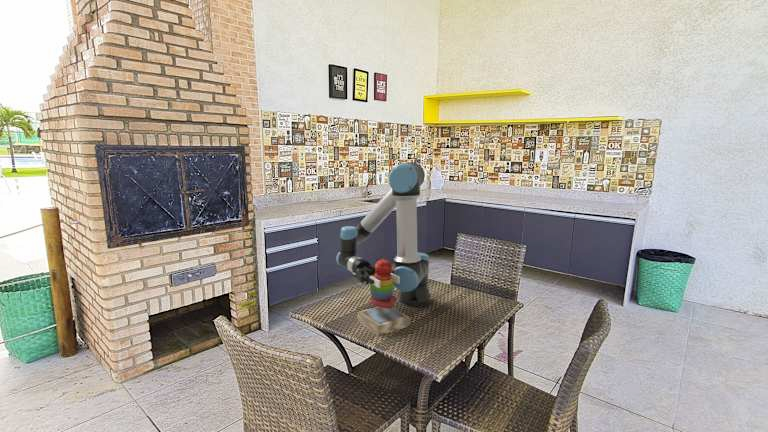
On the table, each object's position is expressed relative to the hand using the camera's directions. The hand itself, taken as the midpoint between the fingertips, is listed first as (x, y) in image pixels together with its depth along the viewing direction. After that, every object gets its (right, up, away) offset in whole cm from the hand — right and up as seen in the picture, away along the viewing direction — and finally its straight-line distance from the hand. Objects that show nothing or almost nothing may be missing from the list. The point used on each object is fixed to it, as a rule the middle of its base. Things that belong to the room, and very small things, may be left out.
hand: (389, 282), depth 148 cm
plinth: (-3, -18, +7) cm, 19 cm away
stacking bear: (-3, -9, +5) cm, 11 cm away
